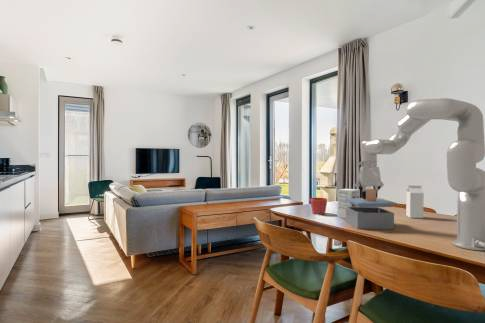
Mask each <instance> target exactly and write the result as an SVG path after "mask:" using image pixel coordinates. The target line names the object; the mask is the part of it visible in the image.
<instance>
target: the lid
mask: <svg viewBox="0 0 485 323" xmlns="http://www.w3.org/2000/svg"><path fill="white" fill-rule="evenodd" d="M365 192H366V199H362V197H359V198H346V201H349V203H351V204H354V205H356V206H358V207H379V208H393V206H397V202H394V201H391V200H387V199H384V198H380V197H377V199H376V189H374V188H365Z"/></svg>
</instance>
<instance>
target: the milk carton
mask: <svg viewBox="0 0 485 323" xmlns="http://www.w3.org/2000/svg"><path fill="white" fill-rule="evenodd" d="M405 193H406V194H405V195H406V196H405V197H406V200H405V201H406V204H405V205H406V206H405V207H406V208H405V209H406V212H405V213H406V214H405V216H406V217H408V218H410V219H424V190H423V188H422V185H408V186H407V189H406V192H405Z"/></svg>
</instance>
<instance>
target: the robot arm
mask: <svg viewBox="0 0 485 323" xmlns="http://www.w3.org/2000/svg"><path fill="white" fill-rule="evenodd" d="M431 120H443V121H444V120H445V121H453V122H457V123H458V127H457V131H456V132H457V140H456V141H453V142H452V143H451V144H450V145H449V146H448V149H447V152H446V172H447V177H446V178H447V182H448V185H449V187H450V188H451V189H452V190H454V191H456V192H457V202H456V203H457V206H456V208H457V210H456V215H457V216H456V239H453V240H452V243H451V244H453V245H454V246H455V247H457V248H462V249H467V250H470V251H472V250H473V251H481V252H482V251H484V252H485V170H484V169H481V168H479V167H477V164H478V163H480V162H482V161H483V160H484V158H485V128H484V127H485V124H484V114H483V113H482V110H481V109H480V108H479V107H478V106H477V105H476V104H473V103H470V102H467V101H463V100H459V99H454V98H449V97H448V98H445V97H444V98H427V99H416V100H413V101H411V102H410V103H409V104H408V105H407V107H406V115H405V116H403V117H402V118H401V119H400V120H398V122H397V128H398V130H397V132H396V133H394V135H393V136H391V137H389V139H374V140H365V141H362V142H361V144H360V147H361V148H360V150H361V151H360V152H361V156H360V157H361V161H359V162H358V165H359V166H360V168H359V171H358V172H359V173H358V180H357V181H356V183H355V184H354V186H355V187H356V188H358V190H360V192H361V198H362V199H366V192H365V189H367V188H366V187H372V189H376V199H377V198H378V192H379V191H380V189H381V188H383V187H384V184H385V183H383V182H382V181H381V180H382V178H381V172H380V167H379V166H378V159H377V158H378V155H392V154H394V153H397V152H398V151H399V150H400V149H402V148H403V147H404V146H405V145H406V144H407V143H408V142H409V140H410V139H411V136H413V135H414V134H415V133H416V132H417V131H418V130H420V129H421V128H423V127H424V126H425V125H426V124H427V123H429V122H431Z"/></svg>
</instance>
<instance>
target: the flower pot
mask: <svg viewBox="0 0 485 323" xmlns="http://www.w3.org/2000/svg"><path fill="white" fill-rule="evenodd" d="M309 202H310V207H311V214H313V215H316V214H318V216H323V215H325V214H326V211H327V210H326V209H327V205H328V204H327V203H328V198H327V197H326V198H325V197H311V198H310V199H309Z"/></svg>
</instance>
